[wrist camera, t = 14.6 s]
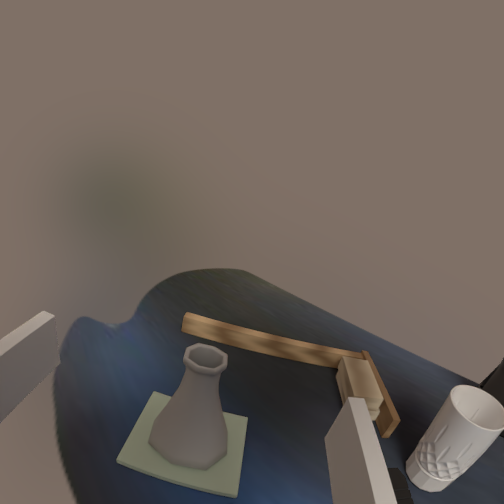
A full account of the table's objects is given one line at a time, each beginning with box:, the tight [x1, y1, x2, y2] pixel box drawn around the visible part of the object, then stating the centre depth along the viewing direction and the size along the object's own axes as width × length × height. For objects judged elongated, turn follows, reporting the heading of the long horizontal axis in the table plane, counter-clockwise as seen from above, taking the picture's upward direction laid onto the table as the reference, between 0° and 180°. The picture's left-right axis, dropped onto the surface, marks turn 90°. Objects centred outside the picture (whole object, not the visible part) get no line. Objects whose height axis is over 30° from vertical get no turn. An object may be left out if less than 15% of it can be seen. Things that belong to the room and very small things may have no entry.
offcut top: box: [338, 356, 384, 411], centre depth 34 cm, size 4×9×2 cm, turn 174°
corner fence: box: [181, 312, 401, 438], centre depth 35 cm, size 28×16×3 cm, turn 86°
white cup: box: [406, 385, 504, 492], centre depth 20 cm, size 8×8×10 cm
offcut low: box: [336, 371, 380, 421], centre depth 35 cm, size 4×9×2 cm, turn 176°
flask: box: [148, 343, 228, 470], centre depth 21 cm, size 7×7×10 cm
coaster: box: [116, 391, 248, 498], centre depth 23 cm, size 10×10×1 cm
